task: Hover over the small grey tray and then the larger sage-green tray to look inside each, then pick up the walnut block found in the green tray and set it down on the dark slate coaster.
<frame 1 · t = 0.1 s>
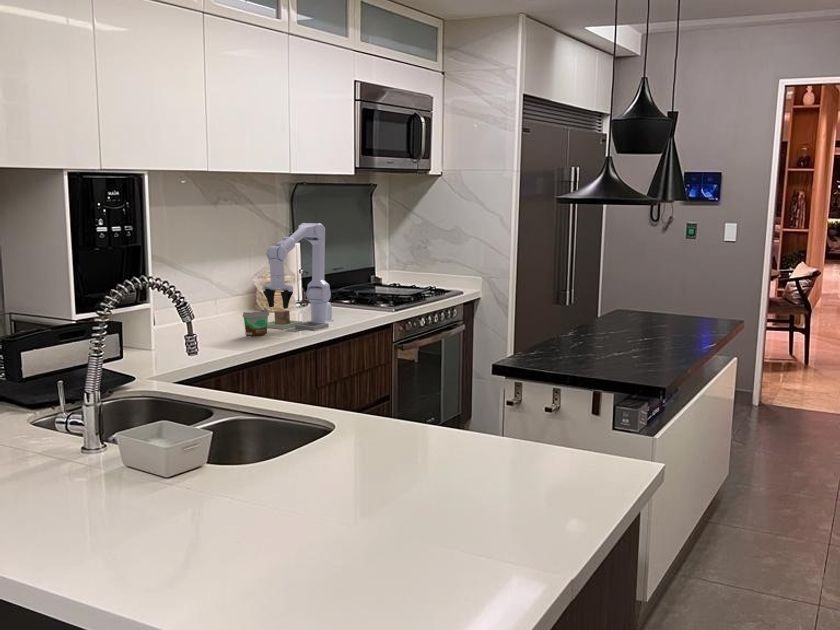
hand: (278, 307, 345), 10 cm above the countertop, tool pointing down, fingers open, 7 cm apart
green tray: (282, 326, 358), on the countertop
walnut block: (282, 325, 357), resting on green tray
slate coaster: (294, 331, 346), on the countertop
grey tray: (311, 328, 353), on the countertop
food container: (260, 335, 338), on the countertop
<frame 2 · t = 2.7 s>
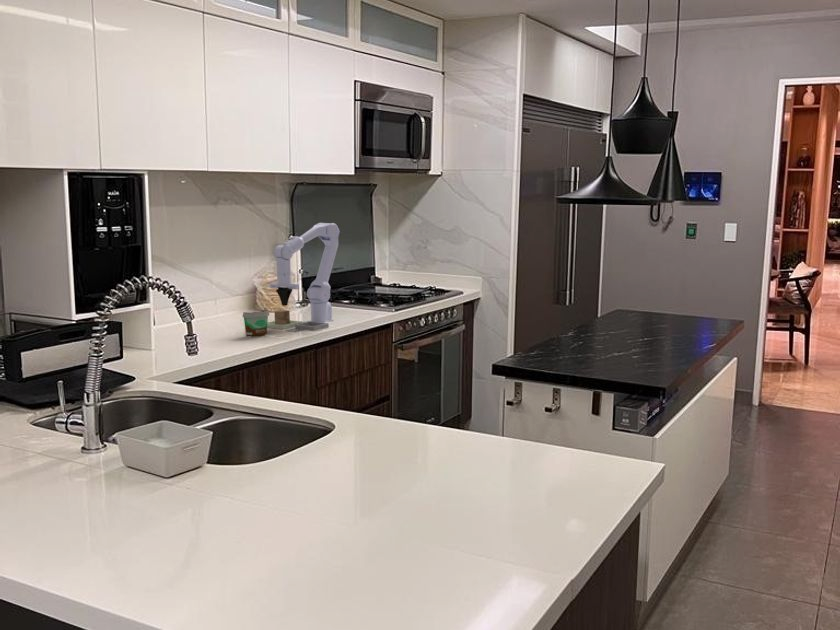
hand: (284, 305, 355), 9 cm above the countertop, tool pointing down, fingers closed
nothing on the countertop moved.
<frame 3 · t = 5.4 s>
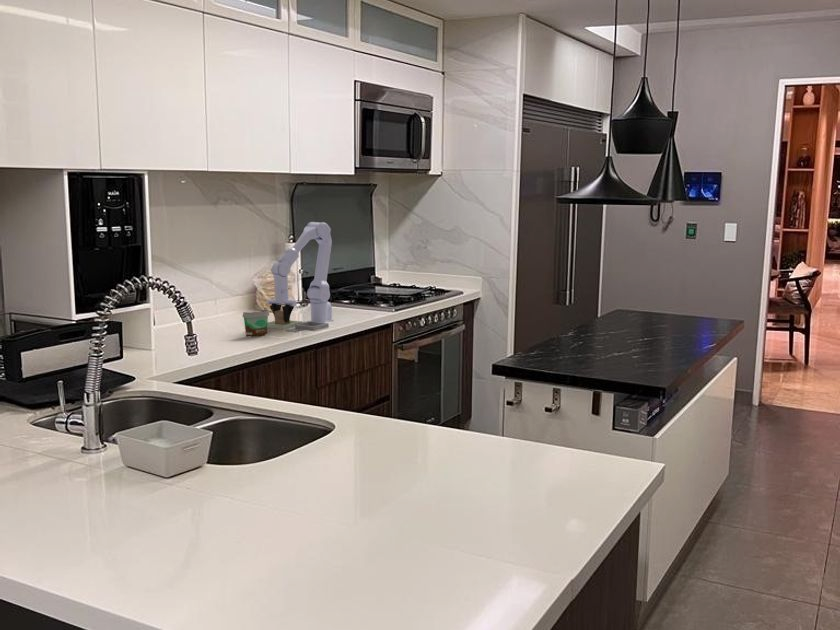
hand: (282, 321, 357), 2 cm above the countertop, tool pointing down, fingers closed on walnut block, 4 cm apart
walnut block: (282, 325, 357), resting on green tray, touching gripper
everything else where it was.
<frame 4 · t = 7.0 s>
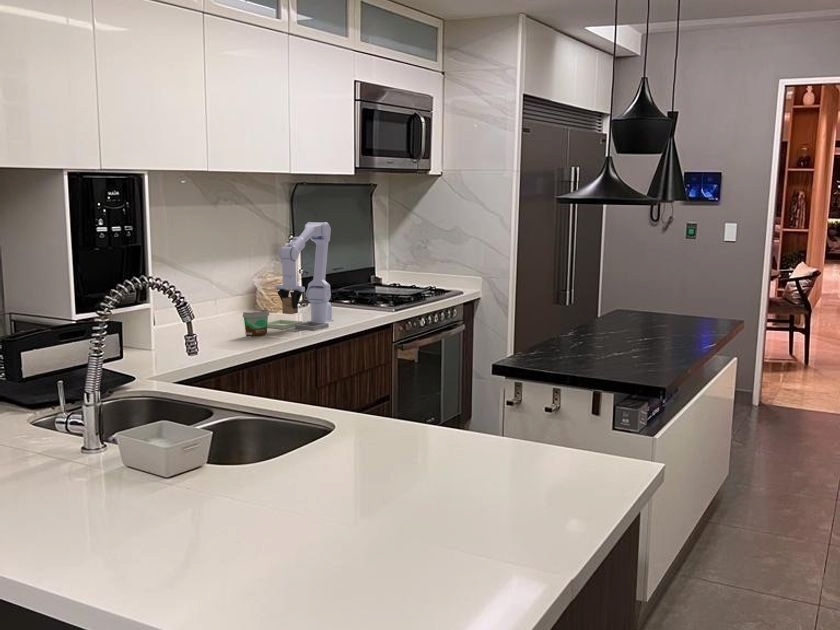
hand: (290, 307, 348), 10 cm above the countertop, tool pointing down, fingers closed on walnut block, 5 cm apart
walnut block: (290, 313, 348), point 7 cm above the countertop, touching gripper
everything else where it was.
when the fingers open (4 cm above the countertop, at t = 8.8 s): walnut block stays where it is, resting on slate coaster.
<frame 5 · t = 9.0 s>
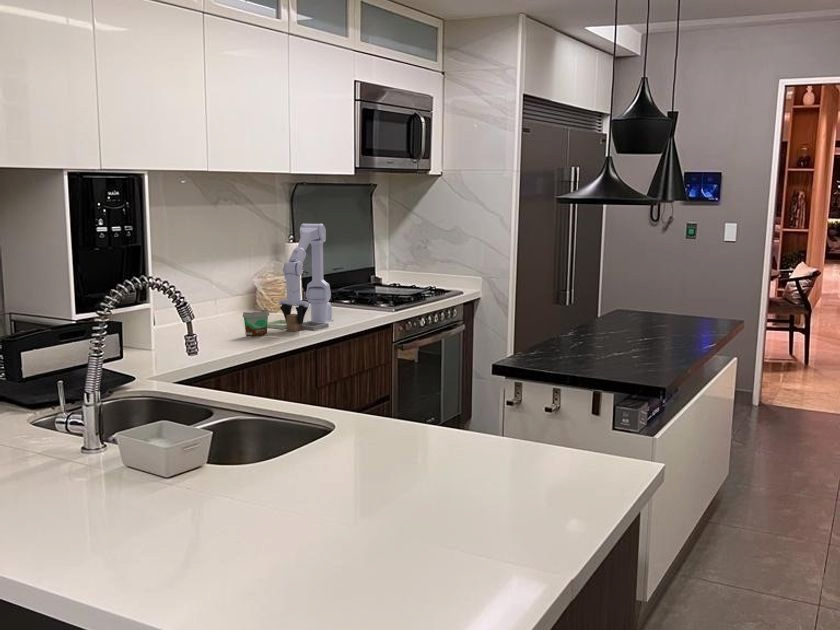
hand: (294, 323, 345), 4 cm above the countertop, tool pointing down, fingers open, 6 cm apart
walnut block: (294, 330, 346), point 1 cm above the countertop, touching slate coaster
everything else where it was.
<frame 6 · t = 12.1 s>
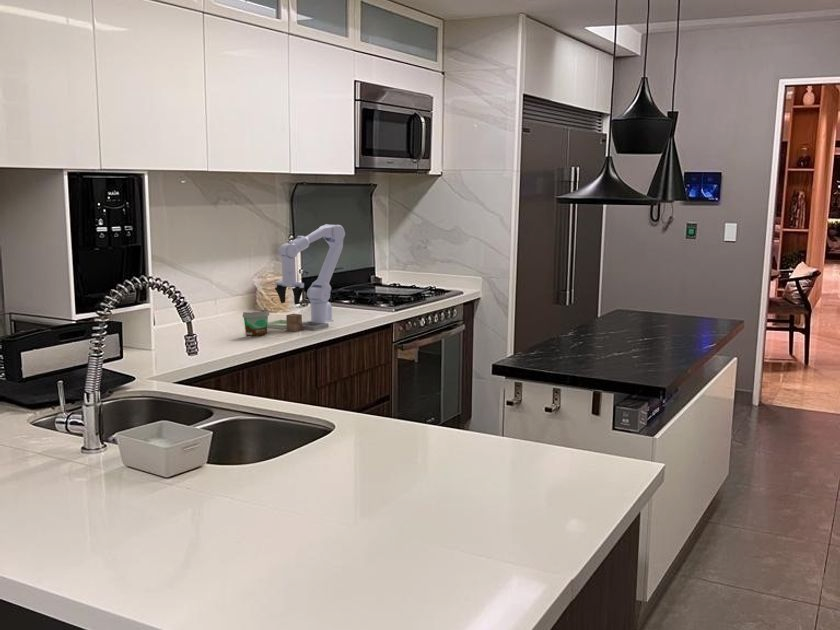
hand: (289, 303, 358), 10 cm above the countertop, tool pointing down, fingers open, 7 cm apart
nothing on the countertop moved.
at the end: walnut block 0.1 cm off-centre on the slate coaster, point 0.6 cm above the slate coaster's base; walnut block tilted 0°; the gripper is holding nothing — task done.
